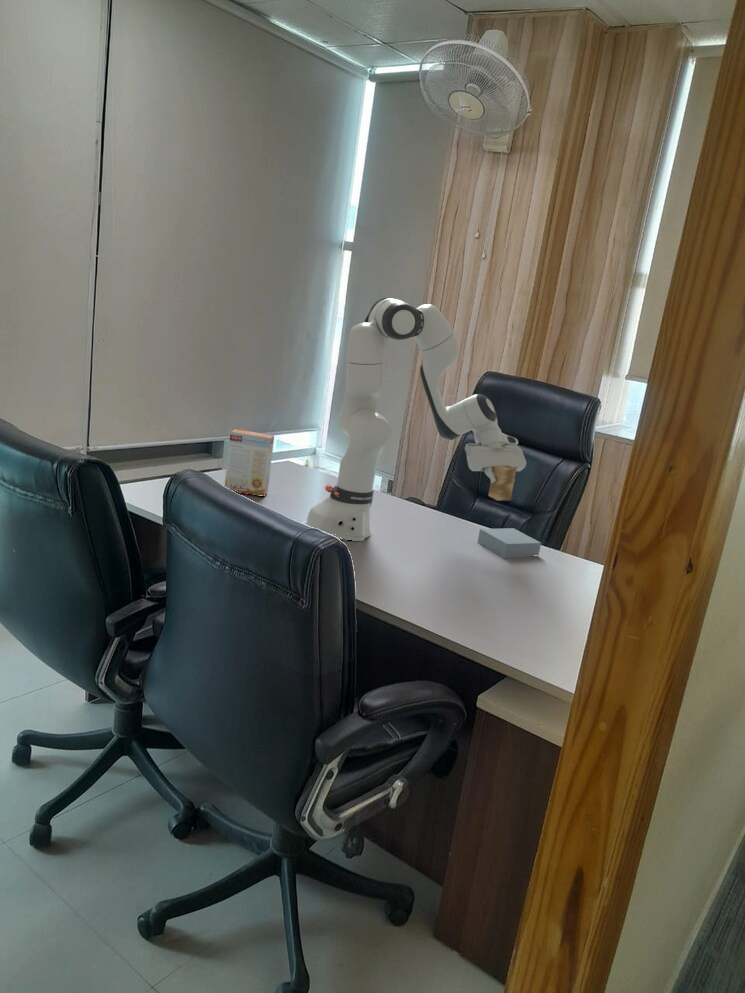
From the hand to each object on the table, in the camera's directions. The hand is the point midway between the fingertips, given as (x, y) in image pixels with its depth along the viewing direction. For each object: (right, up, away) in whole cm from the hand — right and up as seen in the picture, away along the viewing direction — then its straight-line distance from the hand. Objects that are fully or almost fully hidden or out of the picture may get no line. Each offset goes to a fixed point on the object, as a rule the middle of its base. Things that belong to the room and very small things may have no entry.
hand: (503, 482), depth 243 cm
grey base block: (+3, -22, +10) cm, 24 cm away
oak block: (-1, -5, +2) cm, 5 cm away
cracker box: (-84, -3, +26) cm, 88 cm away
